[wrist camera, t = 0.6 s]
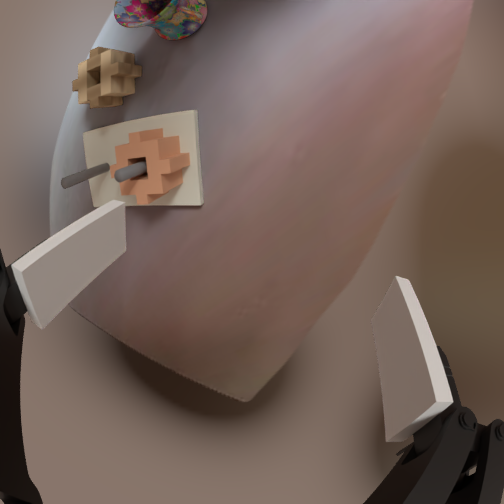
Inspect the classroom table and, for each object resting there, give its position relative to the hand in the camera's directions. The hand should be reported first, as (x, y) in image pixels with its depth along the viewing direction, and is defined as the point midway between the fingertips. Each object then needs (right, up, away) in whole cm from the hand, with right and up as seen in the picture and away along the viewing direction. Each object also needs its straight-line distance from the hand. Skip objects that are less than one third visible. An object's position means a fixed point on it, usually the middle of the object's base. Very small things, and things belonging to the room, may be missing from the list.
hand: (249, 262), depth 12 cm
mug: (-9, +34, +15) cm, 38 cm away
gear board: (-18, +15, +27) cm, 36 cm away
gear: (-21, +28, +21) cm, 41 cm away
